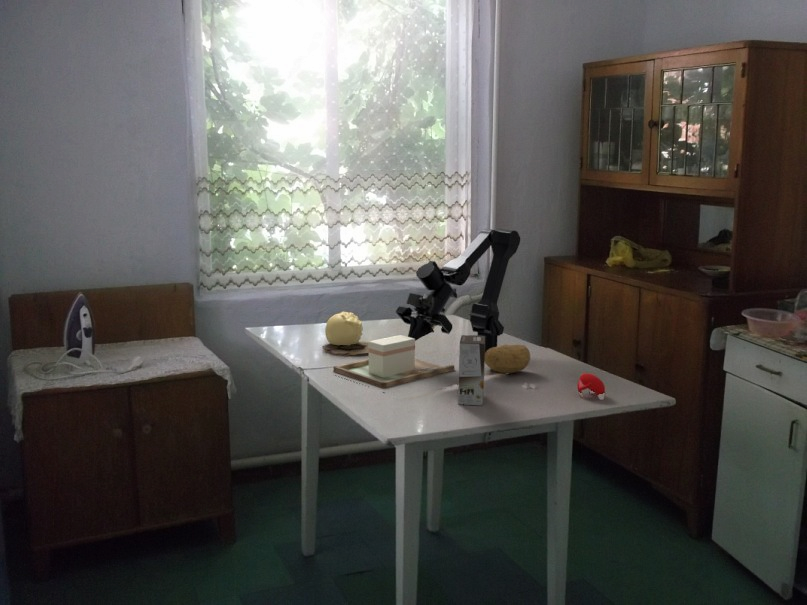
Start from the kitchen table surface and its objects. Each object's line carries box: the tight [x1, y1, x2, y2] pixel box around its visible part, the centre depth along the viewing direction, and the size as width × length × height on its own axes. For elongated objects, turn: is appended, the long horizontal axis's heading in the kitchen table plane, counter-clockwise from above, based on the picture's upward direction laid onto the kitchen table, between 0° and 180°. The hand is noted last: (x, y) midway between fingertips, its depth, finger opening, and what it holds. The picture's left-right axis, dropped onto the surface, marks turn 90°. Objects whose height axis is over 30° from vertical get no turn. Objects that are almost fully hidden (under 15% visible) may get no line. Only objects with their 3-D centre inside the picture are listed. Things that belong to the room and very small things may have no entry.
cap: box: [576, 372, 606, 396], centre depth 218 cm, size 8×6×6 cm
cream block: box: [368, 334, 416, 377], centre depth 235 cm, size 12×6×9 cm, turn 133°
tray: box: [333, 358, 455, 389], centre depth 236 cm, size 27×21×2 cm
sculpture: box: [324, 311, 364, 346], centre depth 269 cm, size 12×12×11 cm
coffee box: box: [457, 334, 486, 406], centre depth 213 cm, size 9×6×16 cm
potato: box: [485, 344, 531, 374], centre depth 239 cm, size 10×14×8 cm
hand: (408, 342), depth 238 cm, fingers closed
